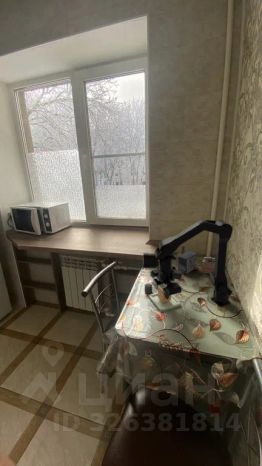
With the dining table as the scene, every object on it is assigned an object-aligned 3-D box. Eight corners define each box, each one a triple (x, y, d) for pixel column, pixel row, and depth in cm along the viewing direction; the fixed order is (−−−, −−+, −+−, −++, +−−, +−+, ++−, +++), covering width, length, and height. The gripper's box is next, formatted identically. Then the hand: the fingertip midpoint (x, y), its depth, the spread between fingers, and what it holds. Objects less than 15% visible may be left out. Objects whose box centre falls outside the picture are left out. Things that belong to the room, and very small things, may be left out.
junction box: (178, 283, 115) (179, 274, 113) (157, 289, 110) (157, 279, 108) (171, 277, 121) (171, 268, 119) (151, 282, 117) (151, 273, 115)
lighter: (215, 271, 127) (216, 256, 123) (215, 274, 124) (217, 259, 120) (201, 270, 129) (202, 255, 125) (201, 273, 125) (203, 258, 122)
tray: (181, 305, 98) (181, 303, 97) (160, 312, 94) (160, 309, 93) (167, 292, 108) (167, 289, 108) (148, 297, 104) (148, 295, 104)
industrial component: (188, 259, 143) (189, 243, 139) (188, 264, 136) (189, 247, 132) (174, 259, 144) (174, 242, 141) (173, 263, 138) (174, 247, 134)
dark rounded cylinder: (153, 293, 108) (153, 286, 106) (146, 295, 106) (146, 288, 105) (150, 289, 111) (150, 282, 110) (143, 291, 110) (143, 284, 108)
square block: (171, 300, 99) (171, 287, 97) (162, 302, 98) (163, 290, 96) (166, 295, 103) (166, 282, 101) (157, 297, 102) (158, 285, 100)
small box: (186, 265, 135) (187, 250, 132) (195, 268, 131) (196, 253, 127) (177, 271, 128) (177, 255, 125) (186, 275, 124) (187, 259, 120)
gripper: (192, 272, 90) (190, 303, 95) (169, 256, 106) (168, 282, 111) (170, 278, 86) (169, 309, 91) (149, 260, 102) (149, 287, 107)
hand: (164, 296), depth 100 cm, fingers closed on square block, 4 cm apart
